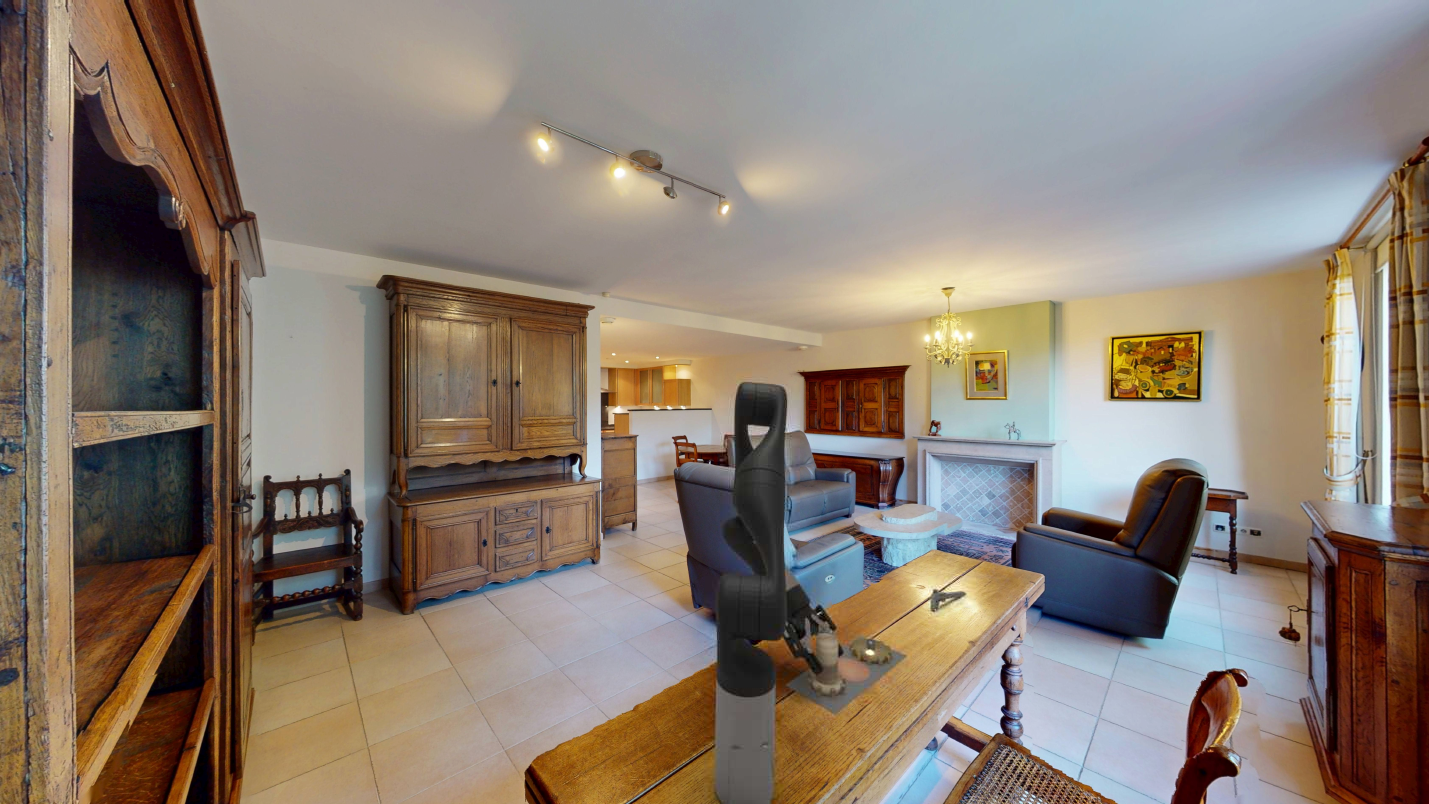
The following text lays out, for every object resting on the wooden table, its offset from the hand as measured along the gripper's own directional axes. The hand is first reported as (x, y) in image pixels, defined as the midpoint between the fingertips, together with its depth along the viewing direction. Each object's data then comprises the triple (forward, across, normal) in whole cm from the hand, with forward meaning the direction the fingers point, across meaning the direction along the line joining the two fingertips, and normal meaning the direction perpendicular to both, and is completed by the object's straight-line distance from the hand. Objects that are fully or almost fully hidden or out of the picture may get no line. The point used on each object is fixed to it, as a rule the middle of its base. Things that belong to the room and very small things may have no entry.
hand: (830, 664), depth 97 cm
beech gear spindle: (+3, 0, +4) cm, 5 cm away
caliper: (+8, +65, +2) cm, 65 cm away
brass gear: (+4, +18, +3) cm, 19 cm away
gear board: (+4, +9, +5) cm, 11 cm away
